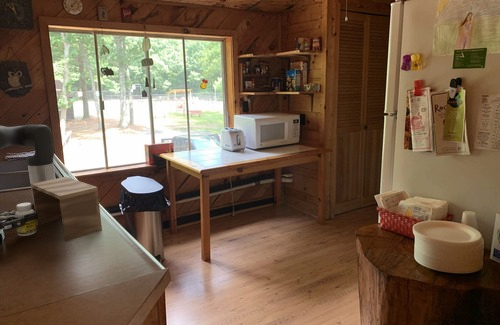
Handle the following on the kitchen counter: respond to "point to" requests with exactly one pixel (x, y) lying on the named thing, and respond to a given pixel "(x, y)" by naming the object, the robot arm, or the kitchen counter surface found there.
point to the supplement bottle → (30, 225)
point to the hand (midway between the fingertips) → (33, 213)
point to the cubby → (68, 206)
